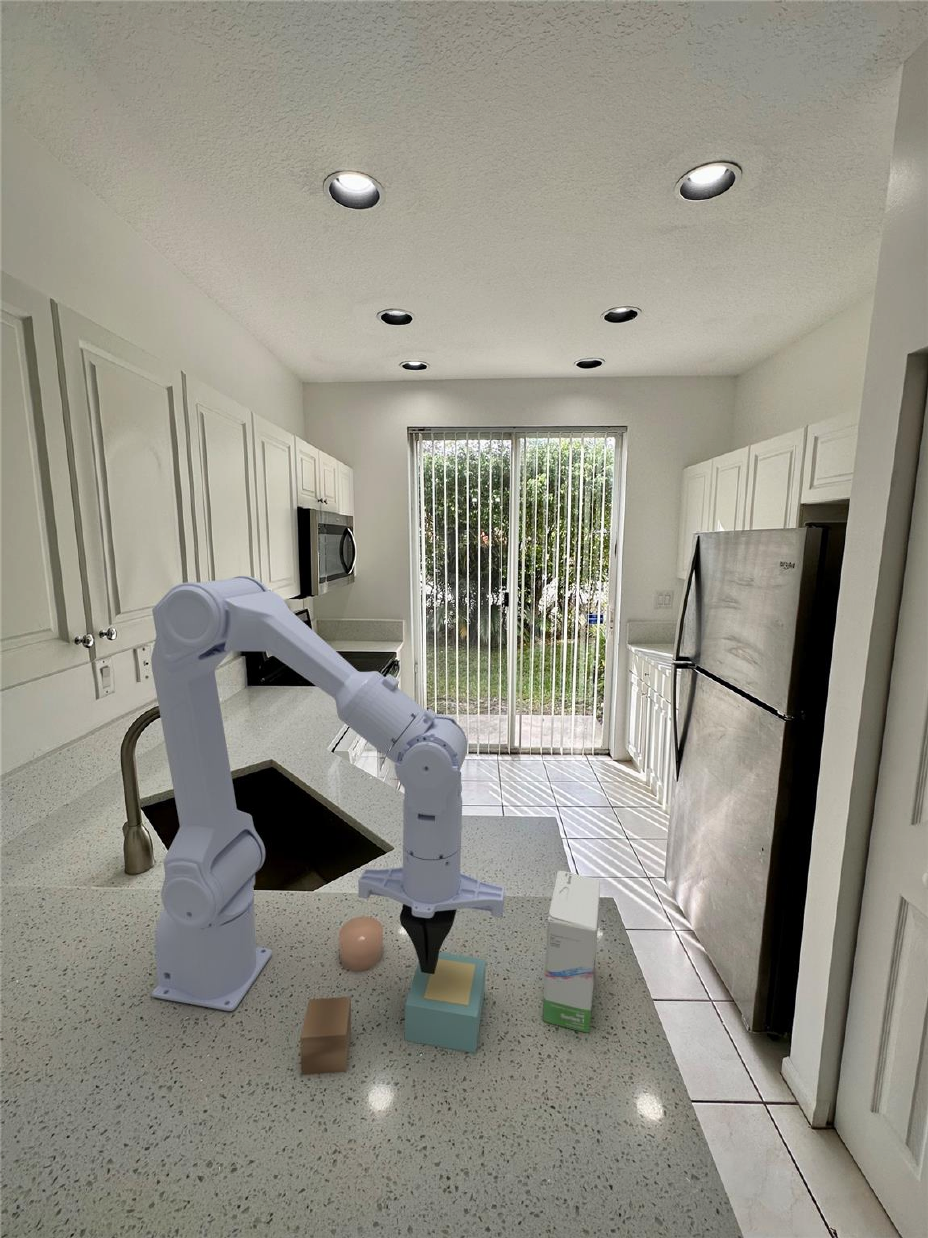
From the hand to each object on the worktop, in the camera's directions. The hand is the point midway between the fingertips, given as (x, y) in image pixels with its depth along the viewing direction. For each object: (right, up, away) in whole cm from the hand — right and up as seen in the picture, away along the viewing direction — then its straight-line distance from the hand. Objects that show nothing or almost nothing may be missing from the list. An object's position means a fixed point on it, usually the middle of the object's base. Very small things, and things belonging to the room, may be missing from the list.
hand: (429, 965), depth 54 cm
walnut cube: (-10, -6, -4) cm, 12 cm away
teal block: (-2, -3, +1) cm, 4 cm away
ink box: (+15, -6, +3) cm, 16 cm away
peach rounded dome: (-9, -4, +8) cm, 13 cm away
